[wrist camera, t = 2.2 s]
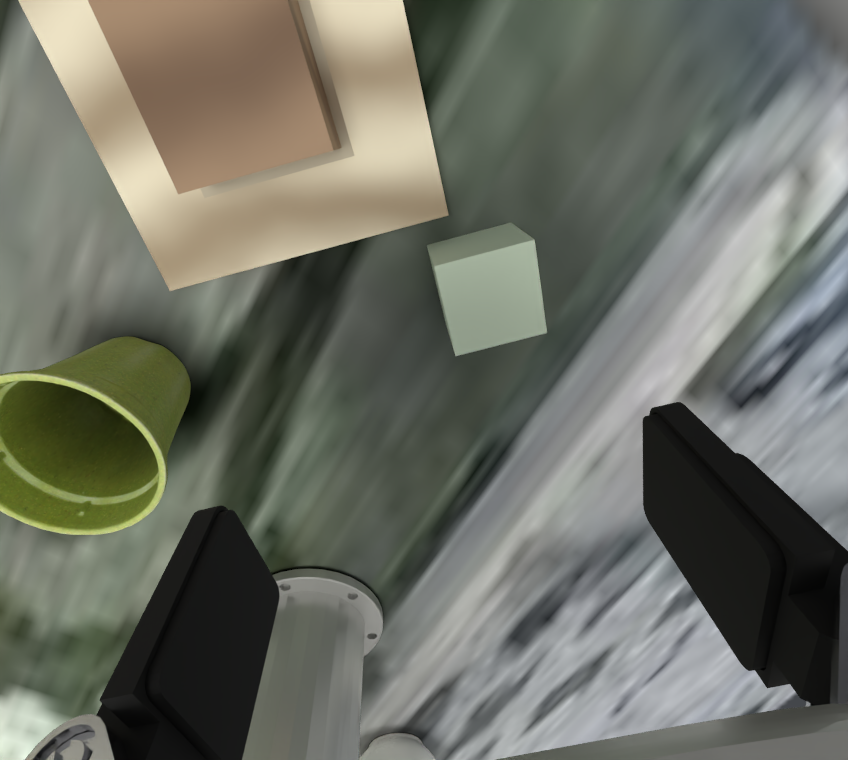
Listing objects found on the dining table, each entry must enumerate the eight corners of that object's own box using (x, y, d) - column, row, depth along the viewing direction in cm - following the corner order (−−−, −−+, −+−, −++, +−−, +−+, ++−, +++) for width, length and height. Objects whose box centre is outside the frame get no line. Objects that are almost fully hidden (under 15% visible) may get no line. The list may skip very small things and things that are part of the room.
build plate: (446, 212, 27) (448, 215, 25) (178, 284, 27) (169, 291, 26) (359, -191, 19) (357, -211, 18) (-5, -74, 20) (-28, -86, 19)
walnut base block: (341, 147, 24) (333, 150, 20) (209, 185, 24) (178, 194, 20) (289, -29, 20) (268, -62, 17) (137, 18, 21) (84, -6, 17)
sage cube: (523, 302, 29) (547, 333, 25) (445, 323, 30) (455, 356, 25) (510, 222, 27) (534, 239, 23) (426, 244, 27) (433, 266, 23)
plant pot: (153, 282, 27) (62, 340, 20) (248, 406, 31) (204, 495, 24) (26, 348, 29) (-107, 426, 21) (133, 459, 33) (56, 559, 25)
